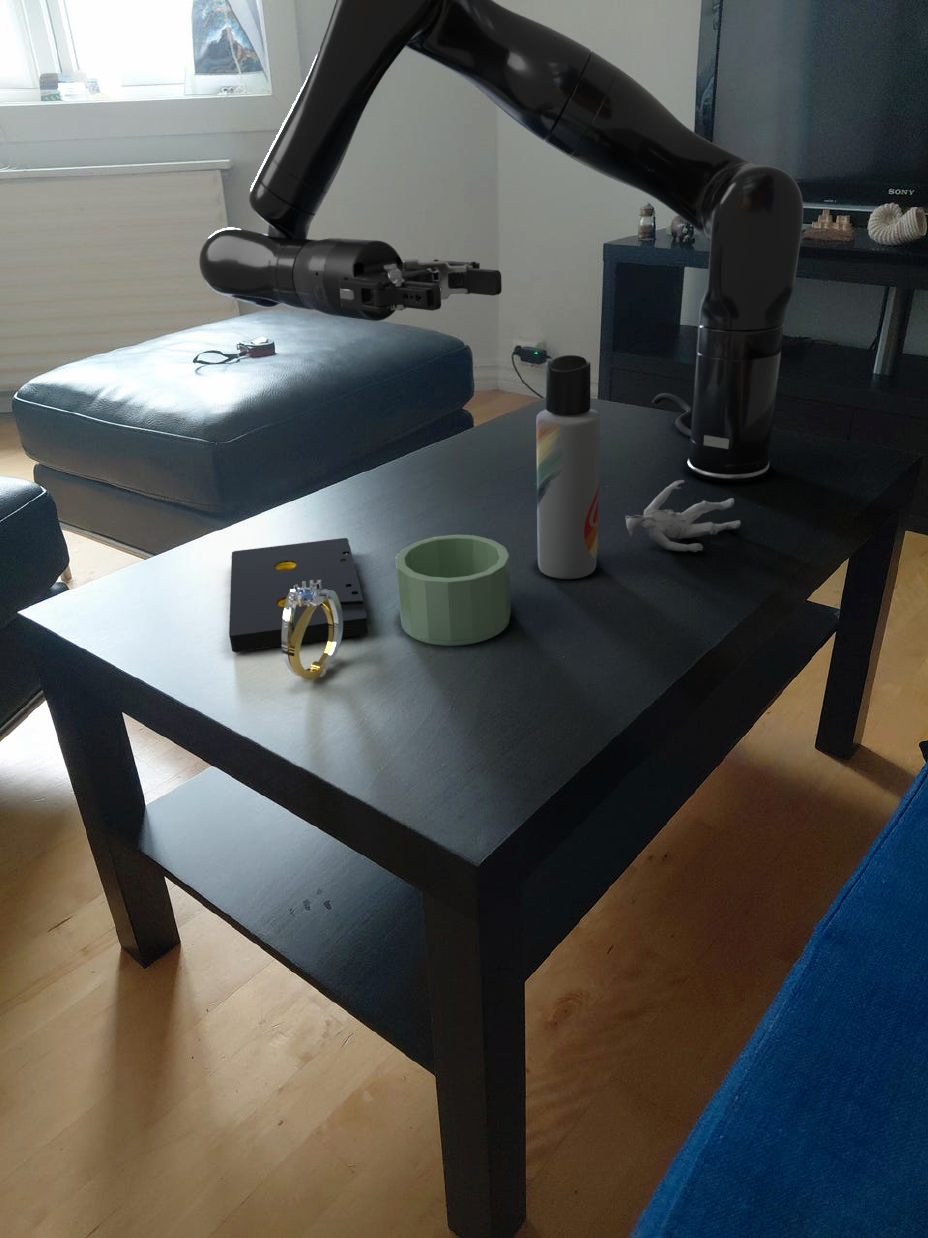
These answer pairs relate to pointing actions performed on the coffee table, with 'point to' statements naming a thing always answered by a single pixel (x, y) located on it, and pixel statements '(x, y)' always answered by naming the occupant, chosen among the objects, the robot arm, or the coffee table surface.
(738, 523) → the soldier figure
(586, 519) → the lotion bottle
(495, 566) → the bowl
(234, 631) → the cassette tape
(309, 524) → the coffee table surface
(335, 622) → the ring
